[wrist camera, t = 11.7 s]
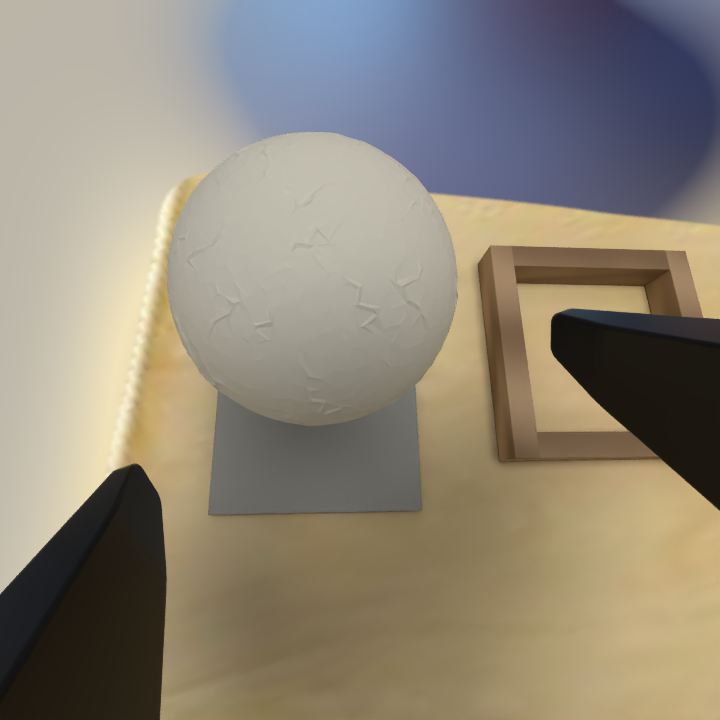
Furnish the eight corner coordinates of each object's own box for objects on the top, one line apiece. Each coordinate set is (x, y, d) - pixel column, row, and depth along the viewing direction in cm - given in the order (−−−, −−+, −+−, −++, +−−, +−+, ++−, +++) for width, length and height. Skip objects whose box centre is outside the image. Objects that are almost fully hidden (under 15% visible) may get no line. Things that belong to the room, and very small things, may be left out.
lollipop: (419, 395, 22) (582, 220, 8) (313, 492, 21) (283, 486, 6) (328, 299, 24) (331, 0, 9) (221, 383, 22) (22, 170, 8)
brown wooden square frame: (706, 458, 23) (740, 455, 21) (499, 460, 22) (515, 458, 20) (659, 268, 27) (685, 251, 25) (478, 263, 26) (490, 245, 24)
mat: (419, 509, 21) (422, 510, 21) (211, 514, 21) (208, 514, 20) (407, 288, 25) (409, 283, 24) (229, 284, 24) (227, 279, 24)
